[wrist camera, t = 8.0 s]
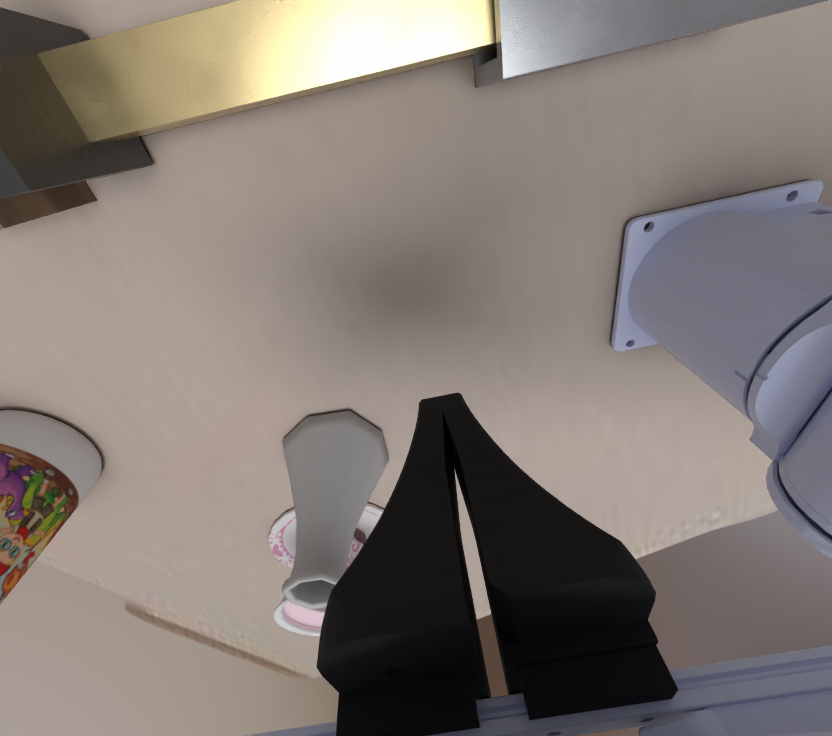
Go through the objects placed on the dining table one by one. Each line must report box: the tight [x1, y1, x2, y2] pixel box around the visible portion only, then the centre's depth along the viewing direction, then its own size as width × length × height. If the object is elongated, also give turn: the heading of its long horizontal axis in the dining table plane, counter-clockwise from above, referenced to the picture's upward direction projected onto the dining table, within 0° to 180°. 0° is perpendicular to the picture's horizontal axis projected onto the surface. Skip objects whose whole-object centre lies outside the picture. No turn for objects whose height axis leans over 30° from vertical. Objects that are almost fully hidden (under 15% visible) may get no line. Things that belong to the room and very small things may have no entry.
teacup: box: [268, 503, 384, 636], centre depth 31 cm, size 12×12×6 cm
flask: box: [282, 411, 389, 609], centre depth 23 cm, size 7×7×10 cm
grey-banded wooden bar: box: [0, 0, 497, 199], centre depth 12 cm, size 20×4×7 cm, turn 101°
